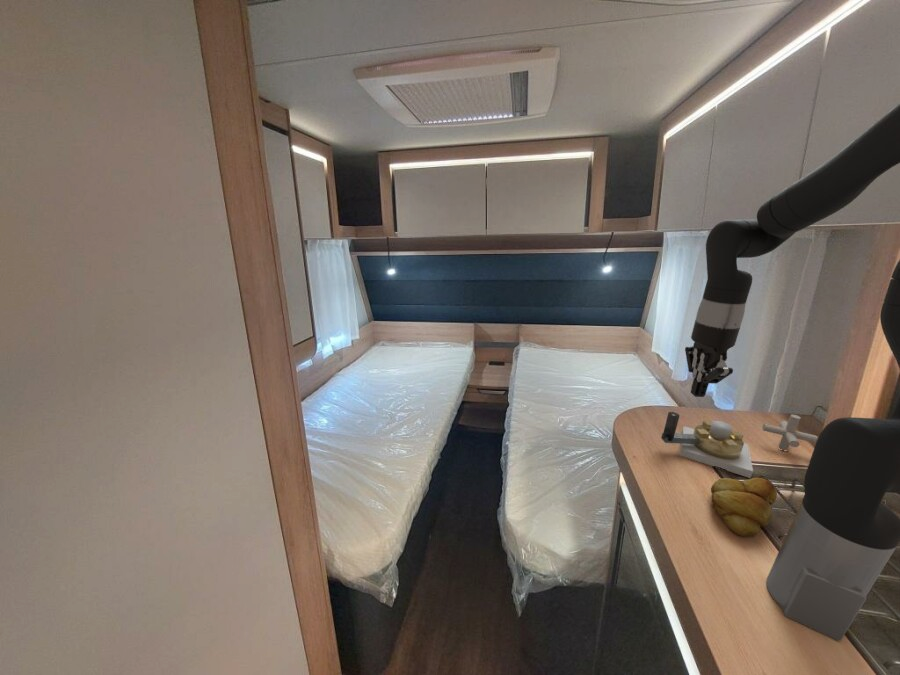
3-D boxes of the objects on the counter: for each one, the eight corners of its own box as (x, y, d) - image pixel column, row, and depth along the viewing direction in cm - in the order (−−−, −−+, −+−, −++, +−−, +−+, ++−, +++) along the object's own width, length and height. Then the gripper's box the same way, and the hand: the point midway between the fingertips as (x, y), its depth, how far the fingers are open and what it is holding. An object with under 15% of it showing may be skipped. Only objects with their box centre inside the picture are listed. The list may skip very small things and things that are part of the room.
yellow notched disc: (722, 434, 92) (732, 406, 89) (750, 460, 83) (761, 429, 80) (652, 431, 93) (659, 403, 90) (671, 456, 84) (679, 426, 81)
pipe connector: (815, 467, 83) (830, 433, 80) (761, 453, 88) (774, 420, 85) (802, 445, 91) (816, 412, 88) (754, 433, 96) (765, 402, 93)
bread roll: (762, 552, 63) (777, 519, 60) (699, 521, 69) (709, 490, 66) (768, 511, 71) (781, 480, 69) (711, 486, 78) (721, 457, 75)
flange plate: (750, 478, 80) (761, 448, 77) (679, 455, 88) (687, 427, 85) (745, 450, 89) (755, 423, 86) (681, 432, 97) (689, 406, 94)
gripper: (761, 332, 64) (735, 412, 70) (716, 312, 77) (697, 381, 83) (719, 331, 65) (697, 410, 71) (681, 312, 77) (664, 380, 83)
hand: (697, 395), depth 77 cm, fingers closed
